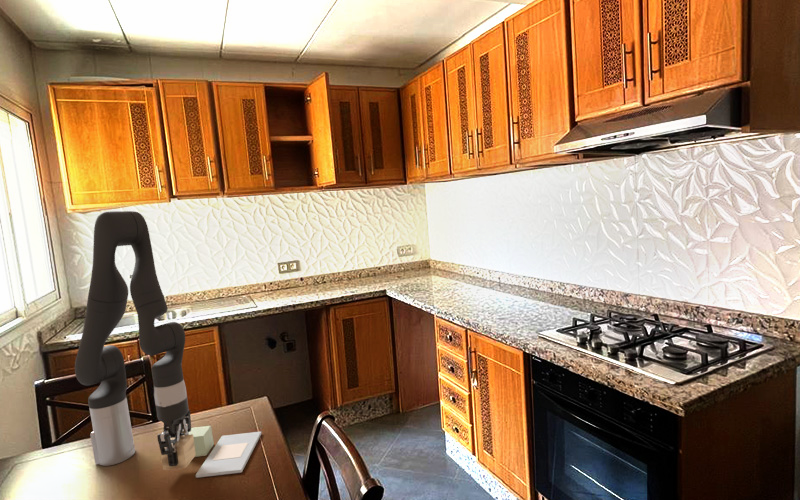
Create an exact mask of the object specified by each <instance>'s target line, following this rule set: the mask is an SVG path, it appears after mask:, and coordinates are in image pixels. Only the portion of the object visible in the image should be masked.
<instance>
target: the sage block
mask: <svg viewBox="0 0 800 500" xmlns="http://www.w3.org/2000/svg"><path fill="white" fill-rule="evenodd" d="M191 434H193V438H194V445H195V453H196V455H195V457H194V458H197V457H198V458H199V457H205V456H207V455H209V453H210V451H211V449H213V447H214V446H215V445H214V444H215V443H214V437H213V436H214V435H213V429H212V425H206V426H204V425H203V426H195V427H191V432H189V435H191Z"/></svg>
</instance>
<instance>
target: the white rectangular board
mask: <svg viewBox="0 0 800 500" xmlns="http://www.w3.org/2000/svg"><path fill="white" fill-rule="evenodd" d="M261 435H262V431H253V432H252V431H251V432H245V433H243V432H242V433H235V434H226V435H221V437H220V438H219V440H218V441H217V442H216V444H215V445H214V446H213V447H212V450H210V451H211V452H209V453H208V456H207V457H206V458H205V461H204V462H203V463H202V465H201V466H200V468H199V469H198V471H197V472H196V474H195V478H205V477H215V476H223V475H231V474H240V473H243V470H244V469H245V467H246V465H247V463H248V461H249V459H250V457H251V455H252V454H253V452H254V449H255V447H256V445H257V444H258V441H259V440H260V438H261Z"/></svg>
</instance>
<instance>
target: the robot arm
mask: <svg viewBox="0 0 800 500" xmlns="http://www.w3.org/2000/svg"><path fill="white" fill-rule="evenodd" d="M148 227H149V226H148V224H147V222H146V219H145V217H144V216H143V215H142V214H141V213H140V212H138V211H130V210H129V211H128V210H127V211H126V210H124V211H120V210H119V211H117V210H116V211H115V210H112V211H103V212H100V213H99V214H98V215H97V217H96V219H95V223H94V228H93V246H92V247H93V251H92V252H93V253H92V255H93V256H92V269H91V275H90V276H91V277H90V284H89V289H88V294H87V295H88V296H87V302H86V311H85V317H84V325H83V330H82V335H81V339H80V342H79V345H78V350H77V353H76V358H75V361H74V374H75V377H76V379H77V382H79V383H80V384H81V385H83V386H87V387H88V386H93V385H95V384H99V386H98V387H97V388H96V389H95V390H94V391H92V393H91V394H90V395H89V396H88V399H87V402H88V403H87V404H88V407H89V408H88V409H89V414H90V419H91V425H92V426H91V427H92V431H91V432H90V435H89V436H90V441H91V447H92V451H93V459H94V464H95V465H100V466H102V467H104V466H105V467H108V466H113V465H116V464H120V463H122V462H125V461H126V460H128V459H130V458H132V457H133V456H134V455H135V453H136V447H135V442H134V436H133V429H132V424H131V417H130V410H129V405H128V399H127V398H128V397H127V393H126V392H127V390H128V389H127V388H128V383H127V374H126V373H127V372H126V365H125V364H126V363H125V360H124V356H123V353H122V351H121V349H119V348H118V347H117V346H115V345H111V344H109V345H105V344H106V342H107V340H108V338H109V336H110V335H111V334H112V332H113V331H114V330H115V328H116V327H117V326H118V325H119V323H120V321H122V318H123V316H124V314H125V312H126V309H127V304H128V298H129V293H130V297H131V300H132V302H133V305H134V308H135V311H136V313H137V320H138V342H139V347H140V349H141V351H142V352H143V353H144V354H145V355H147V356H149V357H150V356H157V355H160V354H162V353H163V354H164V353H165V354H164V356H163V357H162V358H160V359H159V360H158V361H156V362H154V363H153V365H152V366H151V374H152V375H151V376H152V383H153V397H154V405H155V412H156V418H157V420H158V421H159V422H162V423H163V429H162V430H163V431H162V433H158V434H157V437H156V438H157V442H158V445H159V451H160V456H161V455H167V456H168V463H169V466H177V464H178V456H177V451H176V450H177V443H178V442H179V436H180V435H189V432H191V428H192V422H191V421H192V420H191V409H189V403H188V401H189V400H188V395H187V394H188V393H187V387H186V383H185V379H184V373H183V358H184V357H183V356H184V350H185V345H186V333H185V329H184V327H183V325H181V323H179V322H176V321H171V322H167V323H164V324H160V325H155V320H156V319H158V318H160V317H161V316H163V315H165V314H166V313H167V312H168V306H167V301H166V299H165V297H164V294H163V290H162V288H161V286H160V285H161V284H160V282H159V279H158V275H157V270H156V266H155V258H154V253H153V248H152V243H151V237H150V231H149V228H148ZM125 246H126V247H127V246H131V247H132V251H133V253H134V257H135V258H134V259H135V260H134V261H135V262H134V268H133V271H132V275H131V278H130V283H129V288H128V284H127V282H126V281H125V279H124V278H123V276H122V274H121V273H120V271H119V269H118V268H117V265H116V250H117V248H118V247H125ZM129 291H130V292H129ZM170 438H175V439H174V440H171V439H170ZM171 443H173V448H172V444H171Z"/></svg>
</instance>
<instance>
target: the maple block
mask: <svg viewBox="0 0 800 500" xmlns="http://www.w3.org/2000/svg"><path fill="white" fill-rule="evenodd" d="M170 439H171V440H174V439H175V438H170ZM171 444H172V448H173V443H171ZM176 451H177V456H178V464H177V466H169V463H168V456H167V455H161V454H160V456H161V463H162V465H161V466H162V471H163V470H164V471H165V470H166V471H167V470H174V469H175V470H176V469H177V470H179V469H186V468H187V467H188V466H189V464H190V463H191V462H192V460H193V459H194V458H196V457H195V455H196V453H195V445H194V438H193V434H191V435H180V436H179V442H178V443H177V450H176Z"/></svg>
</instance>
